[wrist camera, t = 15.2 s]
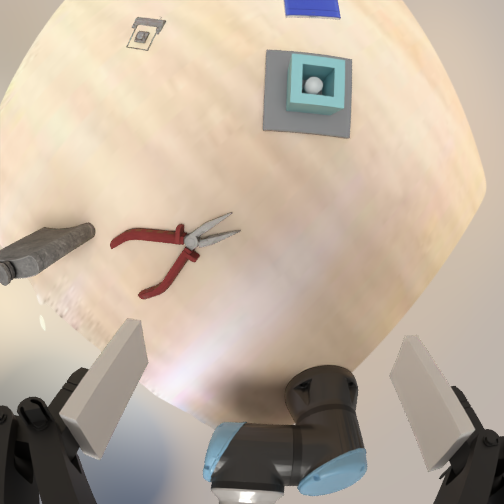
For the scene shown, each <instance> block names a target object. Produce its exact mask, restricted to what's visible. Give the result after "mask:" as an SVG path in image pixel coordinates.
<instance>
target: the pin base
mask: <svg viewBox="0 0 504 504" xmlns="http://www.w3.org/2000/svg"><path fill="white" fill-rule="evenodd" d="M292 54H302V55H311V56H320V57H327V58H334V59H340V60H345V96H344V109H342V110H340V111H338V112H336V113H334V114H332V115H322V114H313V113H303V112H292V111H286V99H287V74H288V67H289V63H290V59H291V56H292ZM322 87H323V83H322V81H321V80H320V79H319V78H317V77H310V78H309V79H308V80H302V93H306V94H315V95H322ZM351 97H352V59H347V58H341V57H335V56H328V55H321V54H313V53H304V52H294V51H281V50H267V52H266V74H265V96H264V117H263V130H266V131H282V132H295V133H306V134H316V135H325V136H333V137H341V138H350V122H351Z"/></svg>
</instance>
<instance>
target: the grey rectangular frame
mask: <svg viewBox="0 0 504 504" xmlns="http://www.w3.org/2000/svg"><path fill="white" fill-rule="evenodd" d="M161 18H162V17H161ZM165 22H166V21H165V20H158V19H150V18H140V17H137V18H136V19H135V22H134V24H133V26H132V28H135V30H136V28H137V26H138V25H146V26H147V25H148V26H154V27H157V29H156V33H155V35H156V34H159V32H161V30H162V28H163V26H164V24H165ZM135 30H134V32H135ZM134 32H133V34H134ZM148 33H149V32H143V31H139V32H138V33H137V35H136V37H135V40H134V41H135V42H142V43H145V42H146V41H145V40H146V39H147V38H148V37H147V36H148V35H149V34H148ZM133 34H132V36H133ZM155 35H154V37H155ZM132 36H131V38H132ZM154 37H153V39H154ZM131 38H130V40H131ZM153 39H152V41H153ZM130 40H129V42H130ZM152 41H151V43H152ZM129 42H128V45H129ZM151 43H150V45H151ZM128 45H127V48H132V47H128ZM150 45H149V47H150ZM149 47H148V50H149ZM134 49H139V48H134ZM140 50H145V49H140ZM148 50H146V51H148Z"/></svg>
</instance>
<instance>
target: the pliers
mask: <svg viewBox="0 0 504 504" xmlns="http://www.w3.org/2000/svg"><path fill="white" fill-rule="evenodd" d="M231 214H232V212H231V213H229V214H226V215H224V216H221V217H218V218H216V219H213V220H211V221H208V222H206V223H204V224H203V225H201V226H200V227H198V228H197V229H196V230H195V231H194V232H192V233H190V234H187V233H185V232H184V225H183V224H179V225H178V226H177V227H176V231H175V232H173V231H163V230H153V229H142V228H137V229H130V230H127V231H125V232H123V233H122V234H120V235H119V236H117V237H116V238H114V239H113V240H112V241H111V243H110V247H111V249H113V248H115V247H116V246H118V245H120V244H121V243H123V242H125V241H128V240H145V241H154V242H163V243H172V244H179V245H180V244H182V245H184V243H185V246H186V247H185V248H184V250H183V251H182V253H181V254H180V256H179V257H178V259H177V260H176V262H175V263H174V265H173V266H172V268H171V269H170V271H169V272H168V274H167V275H166V277H165V279H164V280H163V281H162V282H161V283H159V284H158V285H156V286H153V287H151V288H148V289H145V290H143V291H141V292H140V293H139V294H138V296H139V297H140V298H141V299H147V298H150V297H154V296H157V295H160V294H162V293H163V292H164V291H166V290H167V289H168V288H169V286H170V285H171V284H172V282H173V281H174V279H175V278H176V276H177V275H178V274H179V272H180V271H181V269H182V268H183V266H184V265H185V263H186V262H187V260H188V259H189V260H190V261H192V262H196V260H197V259H198V258H199V256H200V255H199V254H198V253H196V252H195V251H194V249H195V248H196V247H197V246H199V248H200V247H204V246H208V245H212V244H215V243H217V242H219V241H221V240H223V239H225V238H227V237H230V236H232V235H234V234H236V233H238V232H240V231H241V230H238V231H232V232H226V233H221V234H215V235H211V236H208V238H207V239H203V240H202V239H201V238H200V237H199V236H200V235H202V234H203V233H205V232H207V231H208V230H209V229H211V228H212V227H214V226H215V225H216V224H218V223H219V222H221V221H222V220H223V219H225V218H226V217H228V216H229V215H231ZM191 250H192V251H191Z"/></svg>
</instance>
